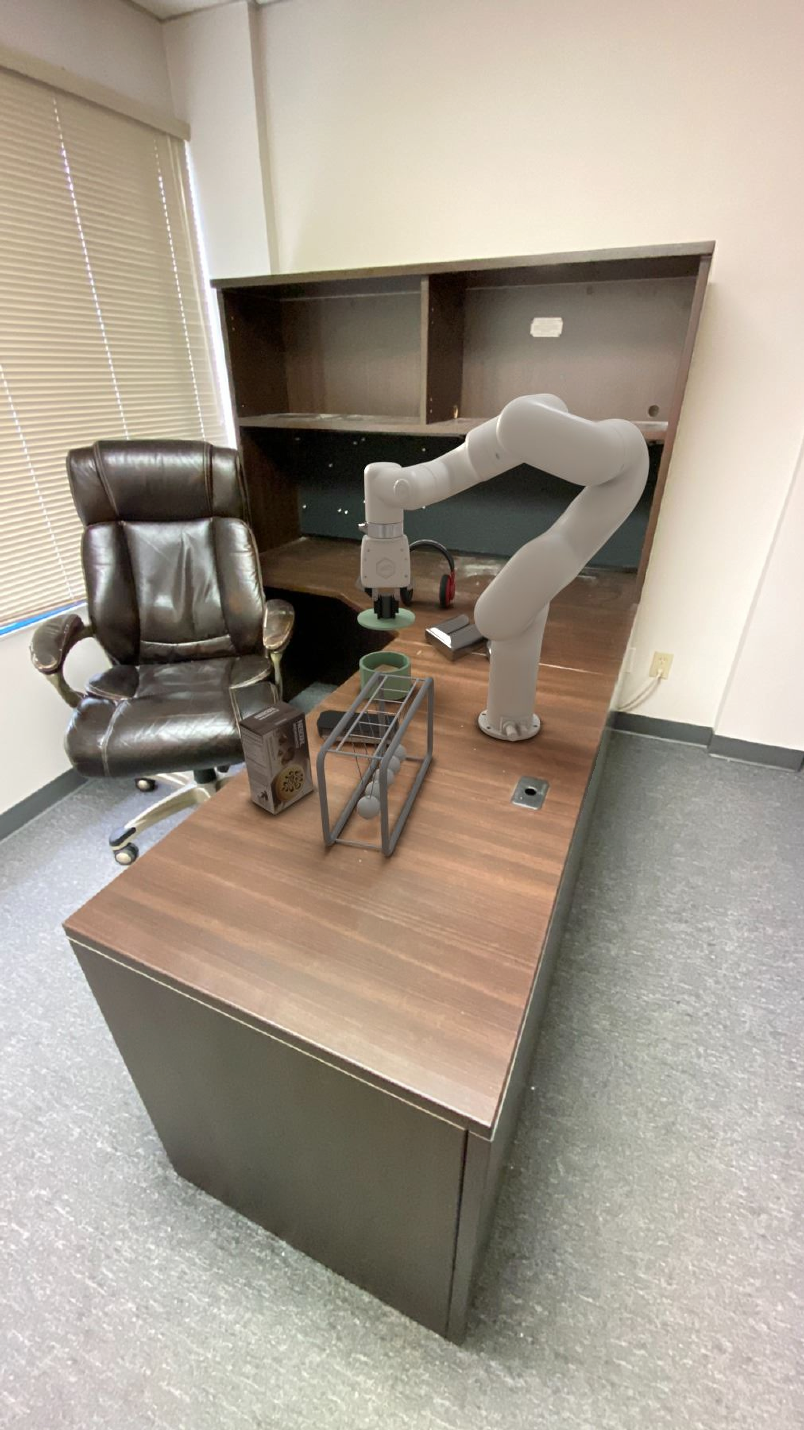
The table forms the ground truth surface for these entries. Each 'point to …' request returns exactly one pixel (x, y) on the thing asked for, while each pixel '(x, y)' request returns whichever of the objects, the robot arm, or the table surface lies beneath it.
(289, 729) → the coffee box
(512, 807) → the table surface
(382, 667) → the block
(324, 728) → the black sponge
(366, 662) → the pot
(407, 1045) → the table surface
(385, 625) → the cover
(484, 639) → the emblem
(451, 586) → the headphones
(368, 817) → the newton's cradle
